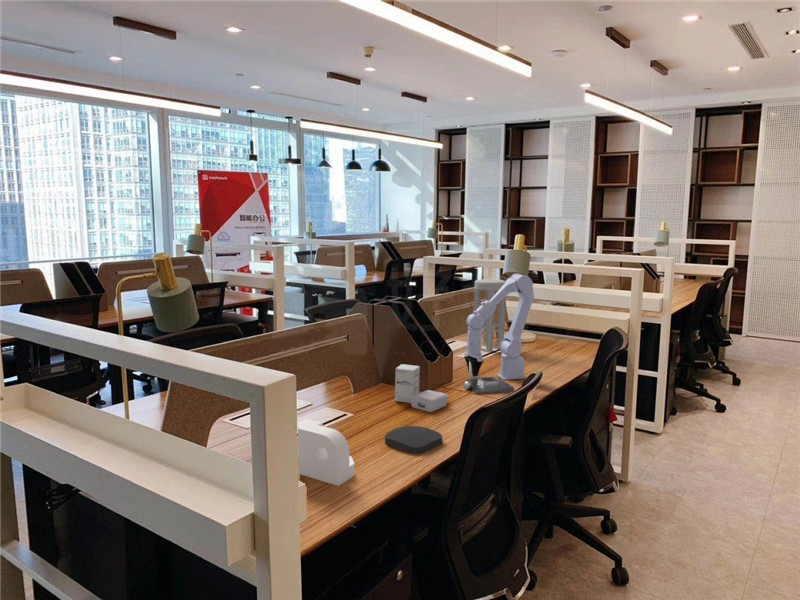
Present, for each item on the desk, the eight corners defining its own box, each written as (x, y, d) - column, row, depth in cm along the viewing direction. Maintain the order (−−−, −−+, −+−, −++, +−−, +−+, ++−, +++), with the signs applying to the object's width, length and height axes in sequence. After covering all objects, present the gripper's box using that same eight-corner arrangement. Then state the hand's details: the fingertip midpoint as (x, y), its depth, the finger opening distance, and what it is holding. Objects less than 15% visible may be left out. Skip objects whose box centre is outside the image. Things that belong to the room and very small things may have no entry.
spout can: (475, 377, 254) (476, 356, 252) (478, 379, 250) (479, 358, 249) (466, 377, 253) (466, 356, 251) (469, 380, 249) (469, 359, 248)
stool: (485, 343, 319) (488, 278, 314) (509, 348, 308) (512, 281, 303) (466, 347, 309) (468, 280, 304) (490, 353, 298) (492, 283, 293)
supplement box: (394, 401, 219) (394, 368, 217) (401, 395, 226) (401, 363, 224) (413, 404, 217) (413, 370, 215) (419, 398, 224) (420, 365, 222)
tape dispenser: (290, 471, 160) (289, 426, 158) (315, 457, 169) (315, 415, 167) (338, 486, 151) (338, 438, 150) (361, 471, 160) (362, 426, 159)
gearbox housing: (500, 382, 247) (500, 373, 246) (513, 391, 234) (514, 382, 234) (459, 384, 242) (459, 376, 242) (471, 394, 230) (471, 385, 229)
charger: (456, 403, 219) (432, 413, 208) (435, 397, 225) (411, 407, 214) (456, 390, 219) (432, 400, 207) (436, 385, 225) (411, 394, 213)
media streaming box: (417, 457, 171) (417, 447, 170) (379, 443, 180) (379, 434, 180) (447, 442, 182) (447, 433, 181) (410, 430, 191) (410, 421, 191)
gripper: (459, 339, 255) (458, 370, 257) (471, 346, 241) (470, 379, 243) (474, 338, 257) (473, 369, 259) (487, 346, 243) (486, 378, 245)
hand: (473, 374), depth 251 cm, fingers open, 4 cm apart
